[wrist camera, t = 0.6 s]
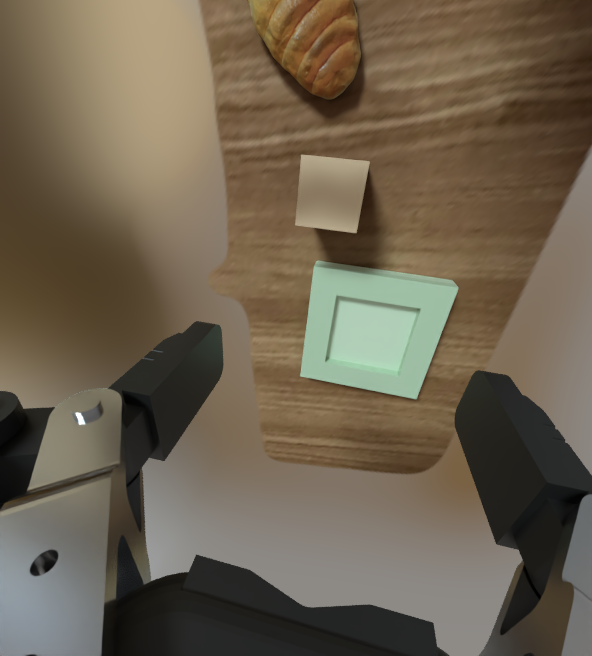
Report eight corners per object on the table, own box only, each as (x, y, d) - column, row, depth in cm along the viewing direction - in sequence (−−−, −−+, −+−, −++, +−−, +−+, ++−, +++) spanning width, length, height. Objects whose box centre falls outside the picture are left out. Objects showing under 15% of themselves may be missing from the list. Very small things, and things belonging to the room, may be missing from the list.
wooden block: (315, 159, 26) (301, 154, 19) (367, 164, 25) (369, 161, 19) (309, 214, 28) (295, 225, 22) (357, 219, 27) (356, 233, 21)
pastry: (384, 60, 22) (387, 40, 19) (309, 124, 25) (301, 116, 21) (317, -89, 19) (307, -143, 16) (241, 1, 22) (220, -29, 19)
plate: (317, 260, 30) (314, 266, 28) (452, 280, 28) (458, 287, 26) (303, 365, 36) (300, 376, 34) (413, 386, 34) (416, 399, 32)
